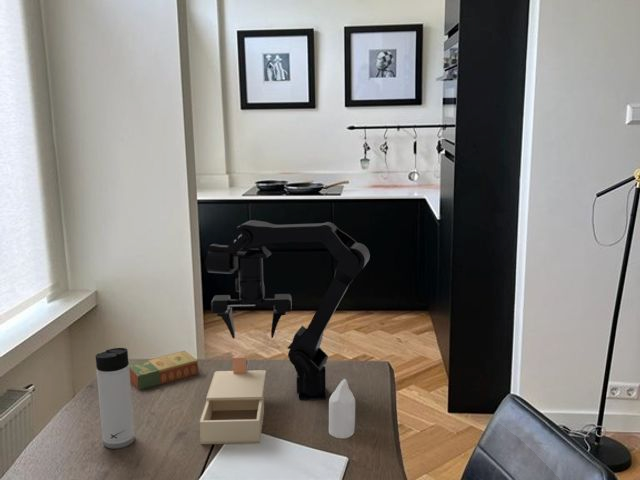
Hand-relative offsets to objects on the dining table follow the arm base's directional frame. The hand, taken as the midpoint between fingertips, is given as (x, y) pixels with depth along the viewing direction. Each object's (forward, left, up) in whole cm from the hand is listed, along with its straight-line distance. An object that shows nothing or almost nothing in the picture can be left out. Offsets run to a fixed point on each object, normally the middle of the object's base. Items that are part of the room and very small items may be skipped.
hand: (253, 337), depth 151 cm
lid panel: (+3, +10, -8) cm, 13 cm away
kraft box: (+3, +19, -13) cm, 23 cm away
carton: (+24, -8, -14) cm, 29 cm away
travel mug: (+26, +24, -13) cm, 38 cm away
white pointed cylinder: (-20, +22, -13) cm, 33 cm away
